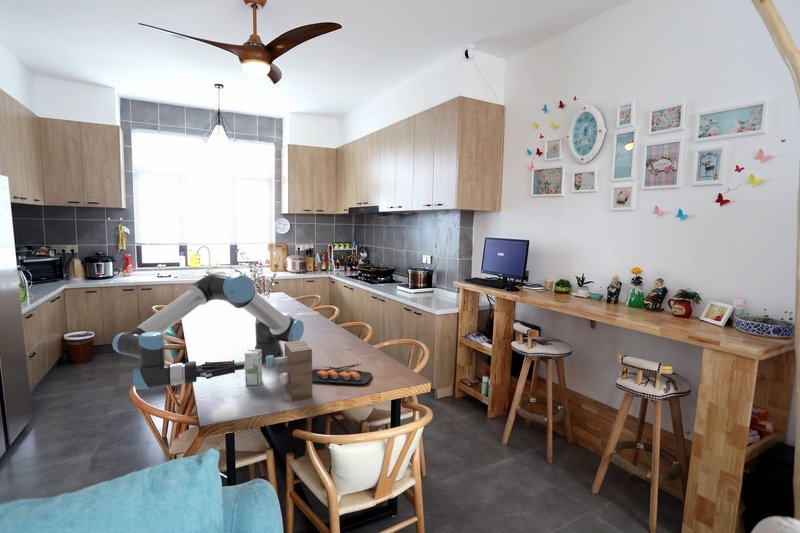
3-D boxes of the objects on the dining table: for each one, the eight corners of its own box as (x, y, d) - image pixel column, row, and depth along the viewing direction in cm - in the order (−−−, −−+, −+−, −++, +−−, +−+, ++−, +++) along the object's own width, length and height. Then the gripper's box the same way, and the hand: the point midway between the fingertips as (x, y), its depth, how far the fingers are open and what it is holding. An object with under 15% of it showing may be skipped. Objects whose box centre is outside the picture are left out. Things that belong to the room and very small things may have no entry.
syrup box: (262, 380, 184) (262, 348, 182) (258, 385, 178) (257, 352, 177) (249, 380, 184) (248, 348, 182) (245, 385, 178) (244, 352, 176)
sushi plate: (301, 384, 182) (301, 375, 181) (323, 362, 211) (322, 354, 211) (366, 388, 178) (366, 379, 178) (379, 365, 208) (379, 357, 207)
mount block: (285, 388, 175) (284, 342, 173) (304, 385, 178) (303, 340, 176) (292, 401, 162) (291, 351, 160) (312, 398, 166) (311, 349, 164)
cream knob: (280, 382, 169) (280, 371, 169) (305, 379, 174) (305, 368, 173) (282, 386, 165) (282, 375, 165) (308, 382, 169) (308, 371, 169)
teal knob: (266, 365, 166) (265, 354, 165) (291, 362, 170) (291, 351, 170) (267, 369, 162) (267, 357, 161) (294, 365, 166) (294, 354, 166)
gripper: (185, 377, 157) (251, 368, 167) (184, 389, 145) (255, 379, 155) (184, 357, 156) (250, 350, 166) (183, 368, 144) (254, 359, 155)
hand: (252, 364), depth 161 cm, fingers closed
